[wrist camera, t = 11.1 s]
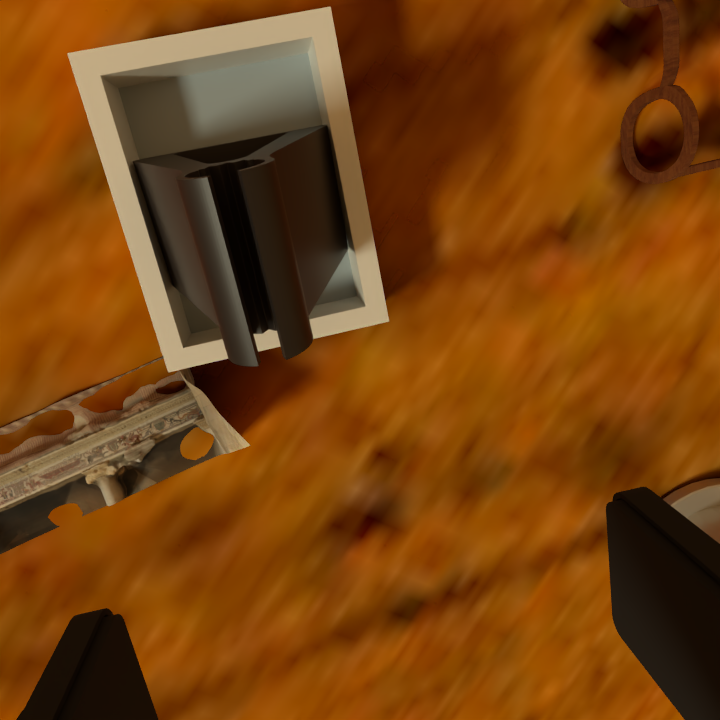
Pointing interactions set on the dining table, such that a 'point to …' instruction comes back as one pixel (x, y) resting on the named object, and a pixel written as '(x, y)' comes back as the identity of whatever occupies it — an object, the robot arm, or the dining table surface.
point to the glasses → (672, 95)
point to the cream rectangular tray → (225, 125)
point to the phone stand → (250, 233)
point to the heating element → (104, 454)
